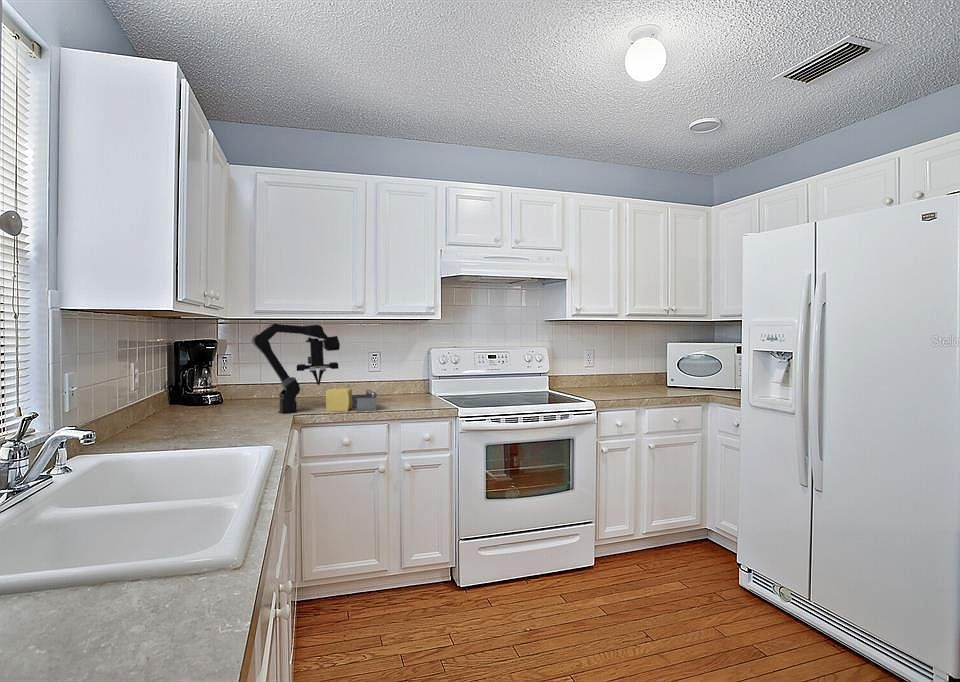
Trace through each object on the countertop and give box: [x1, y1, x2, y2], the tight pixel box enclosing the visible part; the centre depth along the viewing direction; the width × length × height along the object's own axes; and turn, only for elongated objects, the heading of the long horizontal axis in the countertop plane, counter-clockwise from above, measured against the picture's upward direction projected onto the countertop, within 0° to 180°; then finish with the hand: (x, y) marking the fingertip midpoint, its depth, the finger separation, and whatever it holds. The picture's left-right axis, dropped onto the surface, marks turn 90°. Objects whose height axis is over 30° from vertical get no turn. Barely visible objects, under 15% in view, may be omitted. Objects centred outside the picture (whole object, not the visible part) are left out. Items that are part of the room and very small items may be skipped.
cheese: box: [325, 387, 353, 412], centre depth 278 cm, size 10×11×10 cm
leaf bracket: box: [352, 389, 378, 412], centre depth 282 cm, size 10×17×8 cm, turn 23°
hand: (318, 384), depth 275 cm, fingers closed
